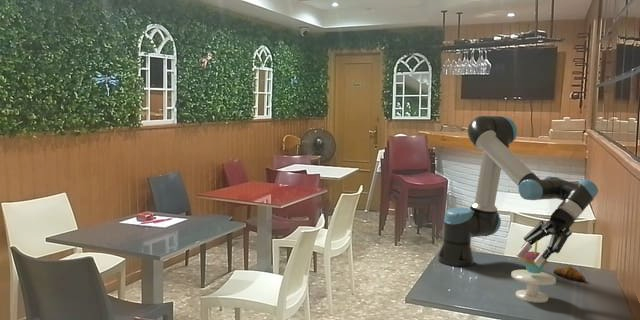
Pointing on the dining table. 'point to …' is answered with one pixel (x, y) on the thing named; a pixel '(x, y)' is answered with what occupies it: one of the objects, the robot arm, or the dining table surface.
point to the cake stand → (532, 285)
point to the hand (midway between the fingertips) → (527, 260)
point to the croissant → (570, 274)
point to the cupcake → (532, 261)
